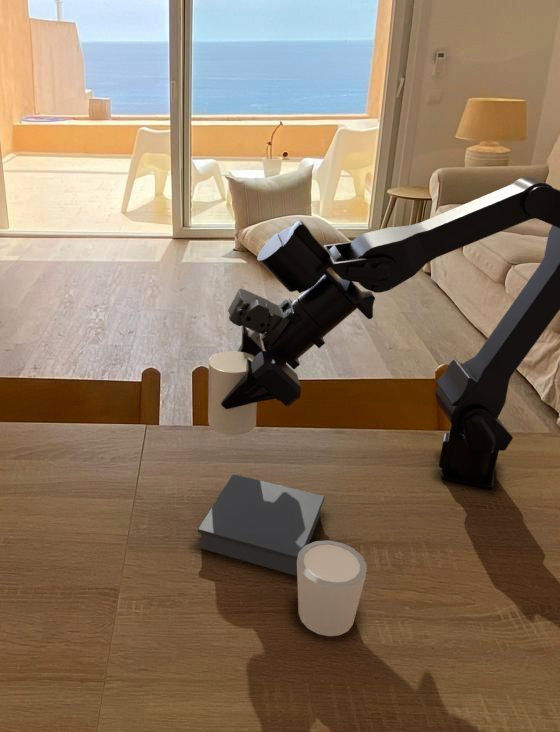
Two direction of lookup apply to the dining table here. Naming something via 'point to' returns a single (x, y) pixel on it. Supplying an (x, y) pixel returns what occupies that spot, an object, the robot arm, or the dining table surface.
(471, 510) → the dining table surface
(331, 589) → the shot glass
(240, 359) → the cream pillar candle
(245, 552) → the storage box
